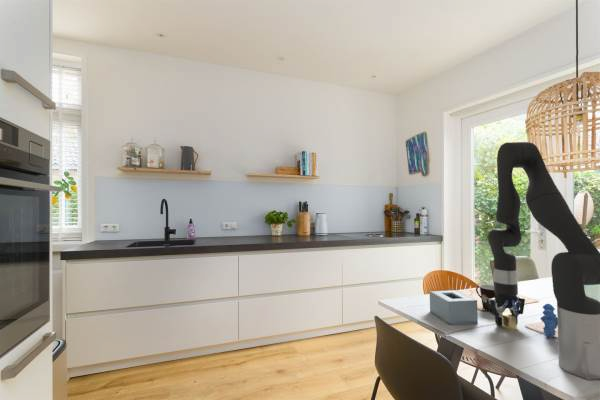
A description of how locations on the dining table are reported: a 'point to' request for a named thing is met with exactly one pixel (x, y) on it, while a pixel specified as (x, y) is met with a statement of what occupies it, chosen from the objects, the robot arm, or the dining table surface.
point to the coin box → (453, 307)
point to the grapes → (549, 320)
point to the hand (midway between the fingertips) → (506, 325)
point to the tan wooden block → (509, 322)
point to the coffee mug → (486, 294)
